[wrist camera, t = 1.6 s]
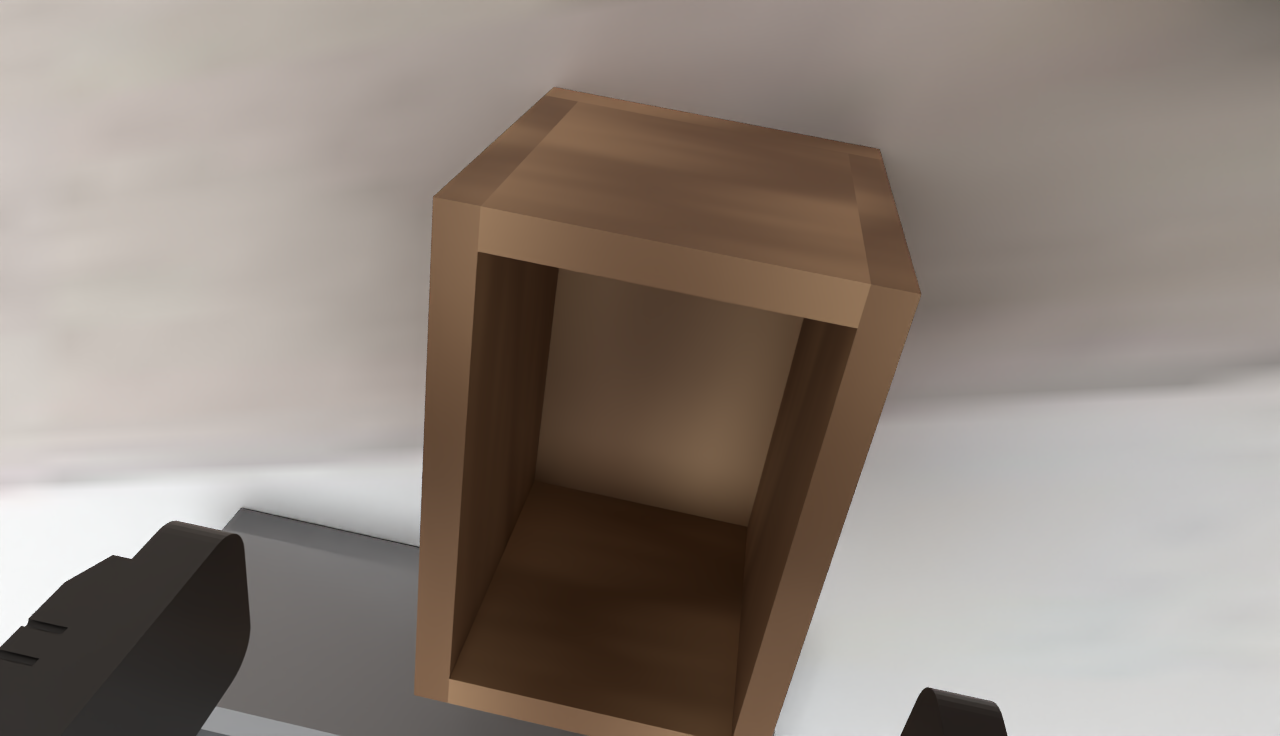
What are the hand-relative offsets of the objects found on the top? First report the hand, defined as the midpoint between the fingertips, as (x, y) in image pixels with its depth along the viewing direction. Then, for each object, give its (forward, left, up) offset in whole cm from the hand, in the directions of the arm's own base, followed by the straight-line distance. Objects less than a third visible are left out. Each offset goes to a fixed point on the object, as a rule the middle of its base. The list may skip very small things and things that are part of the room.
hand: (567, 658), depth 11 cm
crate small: (0, 0, -9) cm, 9 cm away
